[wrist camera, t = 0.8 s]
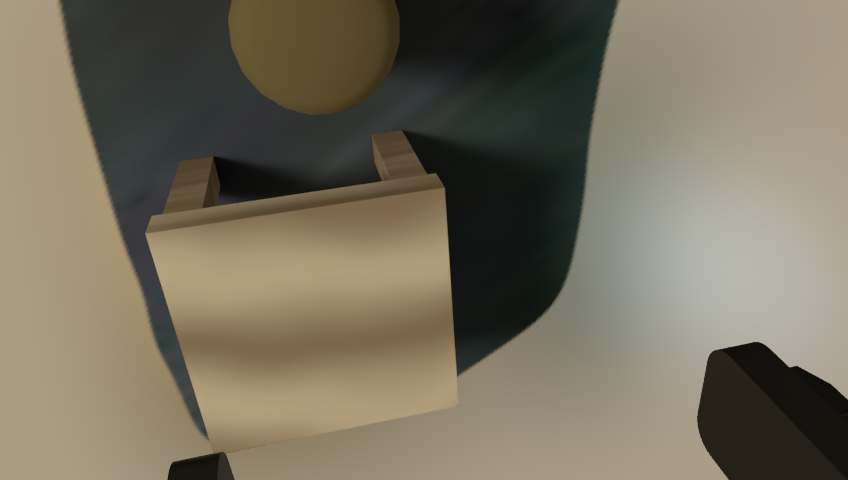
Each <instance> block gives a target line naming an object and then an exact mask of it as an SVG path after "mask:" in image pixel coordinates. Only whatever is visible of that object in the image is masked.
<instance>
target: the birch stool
mask: <svg viewBox="0 0 848 480" xmlns="http://www.w3.org/2000/svg"><path fill="white" fill-rule="evenodd" d="M372 143H373V151H374V160H375V165H376V167H377V170H378V172H379V175H380V177H381V180H382V181H381V182H375V183H368V184H361V185H355V186H348V187H341V188H335V189H328V190H321V191H315V192H308V193H301V194H295V195H288V196H281V197H275V198H268V199H262V200H255V201H248V202H242V203H235V204H228V205H222V206H217V203H218V197H219V190H220V182H219V178H218V174H217V170H216V166H215V162H214V158H213V156H212V157H205V158H198V159H191V160H184V161H180V163H179V166H178V169H177V172H176V175H175V178H174V181H173V184H172V187H171V190H170V193H169V196H168V199H167V202H166V205H165V208H164V211H163V214H162V215H155V216H152V217H151V219H150V222H149V225H148V228H147V231H146V233H145V234H146V237H147V241H148V244H149V247H150V250H151V254H152V257H153V260H154V263H155V266H156V270H157V273H158V276H159V279H160V282H161V286H162V289H163V292H164V295H165V298H166V302H167V305H168V308H169V311H170V315H171V318H172V321H173V324H174V327H175V331H176V334H177V337H178V340H179V343H180V347H181V350H182V353H183V356H184V359H185V363H186V366H187V369H188V372H189V375H190V379H191V382H192V385H193V388H194V392H195V395H196V398H197V401H198V404H199V408H200V411H201V414H202V417H203V420H204V424H205V427H206V430H207V433H208V436H209V440H210V443H211V446H212V449H213V453H219V452H224V453H225V454H226V453H231V452H236V451H240V450H245V449H251V448H255V447H260V446H265V445H269V444H275V443H279V442H284V441H289V440H294V439H298V438H304V437H308V436H314V435H319V434H324V433H329V432H333V431H338V430H343V429H348V428H353V427H358V426H363V425H367V424H372V423H377V422H382V421H387V420H392V419H397V418H402V417H407V416H411V415H416V414H421V413H426V412H431V411H436V410H441V409H446V408H451V407H455V406H459V405H458V390H457V389H458V388H457V373H456V357H455V341H454V325H453V310H452V294H451V278H450V263H449V247H448V231H447V215H446V200H445V187H444V186H443V184H442V182H441V181H440V179H439V177H438V176H437V174H436V173H434V174H428V175H427V173H426V171H425V170H424V168H423V166H422V164H421V163H420V161H419V159H418V157H417V156H416V154H415V152H414V150H413V149H412V147H411V145H410V143H409V142H408V140H407V138H406V136H405V135H404V133H403V131H402V130H399V131H392V132H384V133H377V134H372Z"/></svg>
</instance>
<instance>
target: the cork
mask: <svg viewBox="0 0 848 480" xmlns="http://www.w3.org/2000/svg"><path fill="white" fill-rule="evenodd" d="M228 22H229V31H230V39H231V47H232V50H233V52H234V54H235V56H236V58H237V61H238V63H239V65H240V67H241V70H242V72H243V73H244V75H245V76H246V77H247V78H248V79H249V80H250V81H251V83H252V84H253V85H254V86H255V87H256V88H257V89H258V91H259V92H260V93H261V94H263V95H264V96H266V97H268V98H269V99H271V100H272V101H274V102H276V103H277V104H279V105H280V106H282V107H284V108H286V109H289V110H293V111H297V112H301V113H304V114H308V115H321V114H336V113H338V112H341V111H344V110H347V109H349V108H352V107H355V106H358V105H359V104H360V103H361V102H363V101H364V100H365V99H367V98H368V97H369V96H371V95H372V94H373V93H374V92H376V91H377V90H378V88H379V87H380V85H381V84H382V82H383V81H384V80H385V78H386V77H387V75H388V74H389V72H390V71H391V69H392V66H393V63H394V59H395V56H396V53H397V50H398V47H399V43H400V16H399V13H398V10H397V6H396V3H395V0H232V3H231V8H230V12H229V17H228Z"/></svg>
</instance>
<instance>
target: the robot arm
mask: <svg viewBox="0 0 848 480" xmlns="http://www.w3.org/2000/svg"><path fill="white" fill-rule="evenodd" d="M697 422H698V429H699V433H700V436H701V439H702V442H703V444H704V446H705V448H706V449H707V451H708V452H709V454H710V456H712V458H713V459H714V461H715V462H716V463H717V465H718V466H719V467H720V469H721V470H722V471H723V473H724V474H725V475H726V476H727V478H728V479H729V480H848V400H847V399H846V398H845V397H844V396H843V395H842V394H841V393H840V392H839V391H838V390H836V389H835V388H834V387H833V386H832V385H831V384H829V383H827V382H825V381H824V380H822V379H820V378H818V377H816V376H815V375H812V374H811V373H809V372H807V371H805V370H803V369H802V368H800V367H798V366H795V367H790V368H789V367H788V366H787V365H786V364H785V363H784V362H783V361H782V360H781V359H780V358H779V357H778V356H777V355H776V354H775V353H773V352H772V351H771V350H770V349H769V348H768V347H767V346H765V345H764V344H762V343H759V342H753V343H748V344H744V345H739V346H734V347H729V348H725V349H719V350H715V351H713V352H712V353H711V354H710V356H709V358H708V361H707V366H706V372H705V377H704V383H703V388H702V393H701V399H700V404H699V409H698V416H697ZM168 480H234V477H233V474H232V471H231V468H230V465H229V462H228V459H227V456H226V454H225V453H224V452H219V453H214V454H209V455H204V456H199V457H195V458H190V459H185V460H180V461H175V462H173V463H172V464H171V466H170V469H169V474H168Z"/></svg>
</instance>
